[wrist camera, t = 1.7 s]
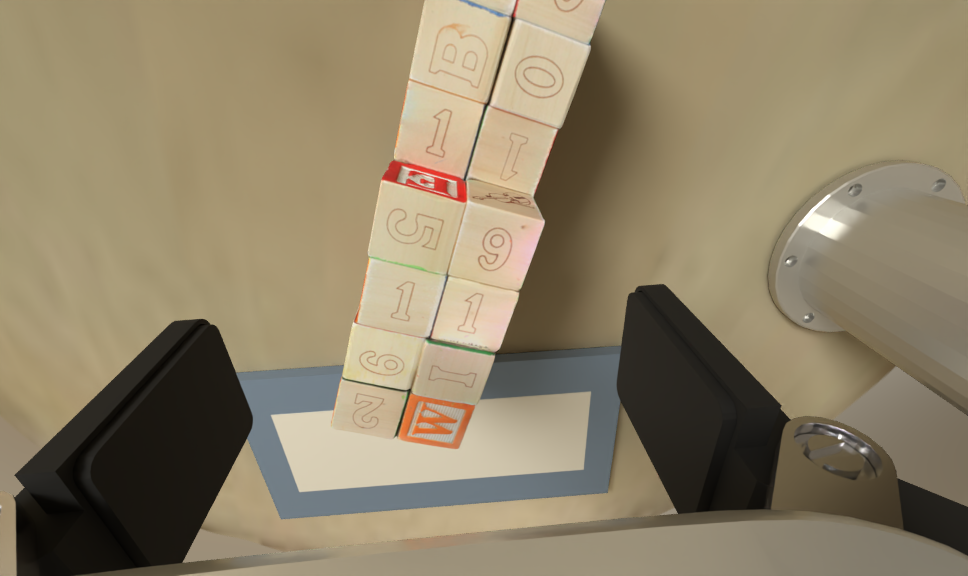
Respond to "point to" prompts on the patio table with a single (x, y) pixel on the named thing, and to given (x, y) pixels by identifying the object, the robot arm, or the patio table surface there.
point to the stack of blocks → (459, 211)
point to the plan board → (437, 470)
